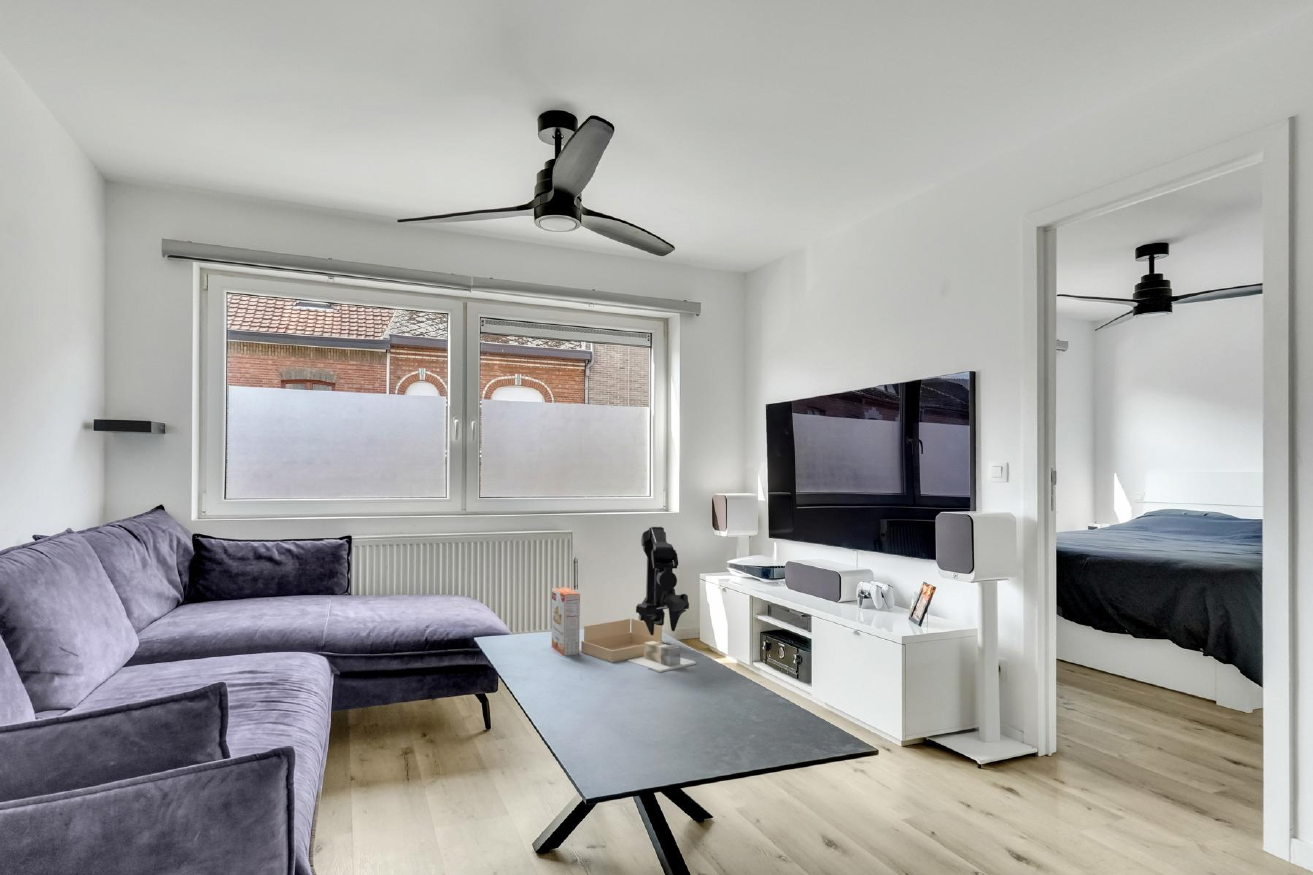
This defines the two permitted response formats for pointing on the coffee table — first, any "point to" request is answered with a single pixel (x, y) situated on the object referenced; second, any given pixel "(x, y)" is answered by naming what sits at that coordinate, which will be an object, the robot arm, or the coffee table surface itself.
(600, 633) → the carton
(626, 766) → the coffee table surface
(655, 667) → the grey mat
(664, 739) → the coffee table surface
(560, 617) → the cracker box
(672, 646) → the grey and cream hammer
